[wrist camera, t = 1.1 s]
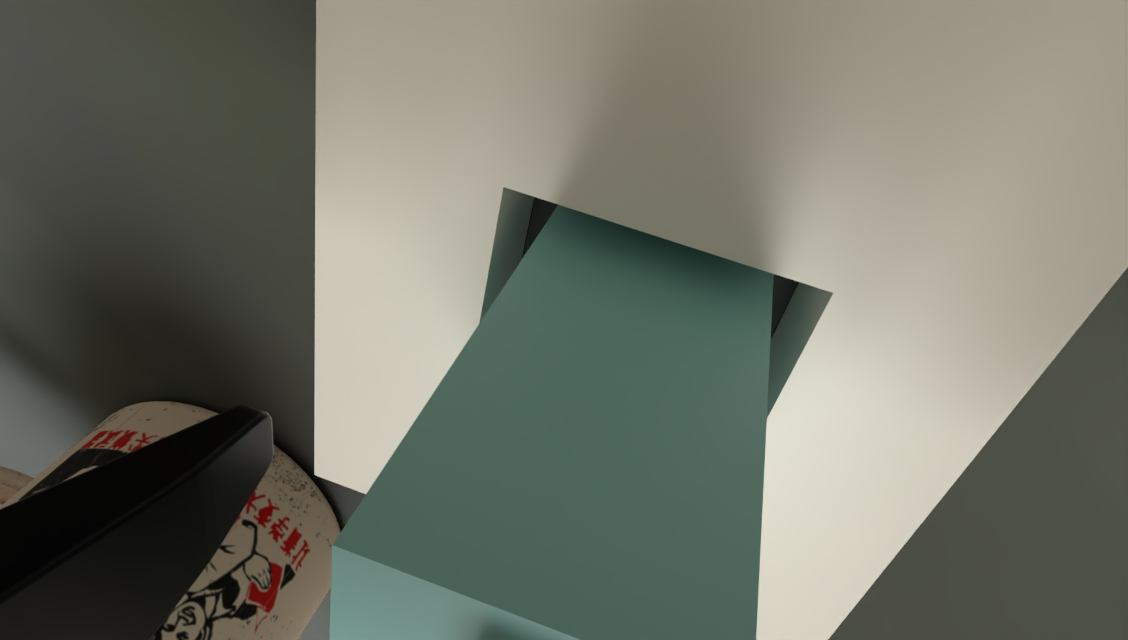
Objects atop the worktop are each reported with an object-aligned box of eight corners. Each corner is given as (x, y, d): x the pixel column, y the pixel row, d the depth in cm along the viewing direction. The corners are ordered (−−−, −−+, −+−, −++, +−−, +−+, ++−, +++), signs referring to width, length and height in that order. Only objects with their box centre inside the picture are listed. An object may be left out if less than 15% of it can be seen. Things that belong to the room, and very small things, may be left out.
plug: (774, 244, 13) (749, 791, 6) (706, 397, 16) (620, 934, 8) (574, 179, 14) (289, 611, 6) (536, 339, 16) (295, 797, 8)
